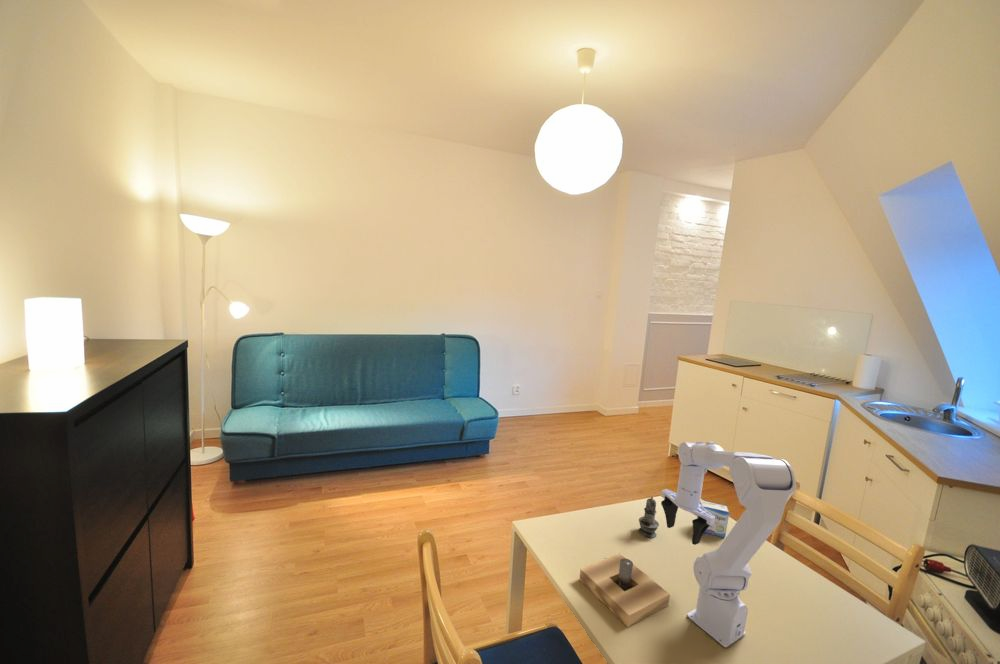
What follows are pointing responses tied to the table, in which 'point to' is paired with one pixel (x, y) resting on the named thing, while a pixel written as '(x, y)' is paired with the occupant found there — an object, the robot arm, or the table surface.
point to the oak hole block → (624, 604)
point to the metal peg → (625, 574)
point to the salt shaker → (649, 520)
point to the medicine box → (717, 518)
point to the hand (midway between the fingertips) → (682, 534)
